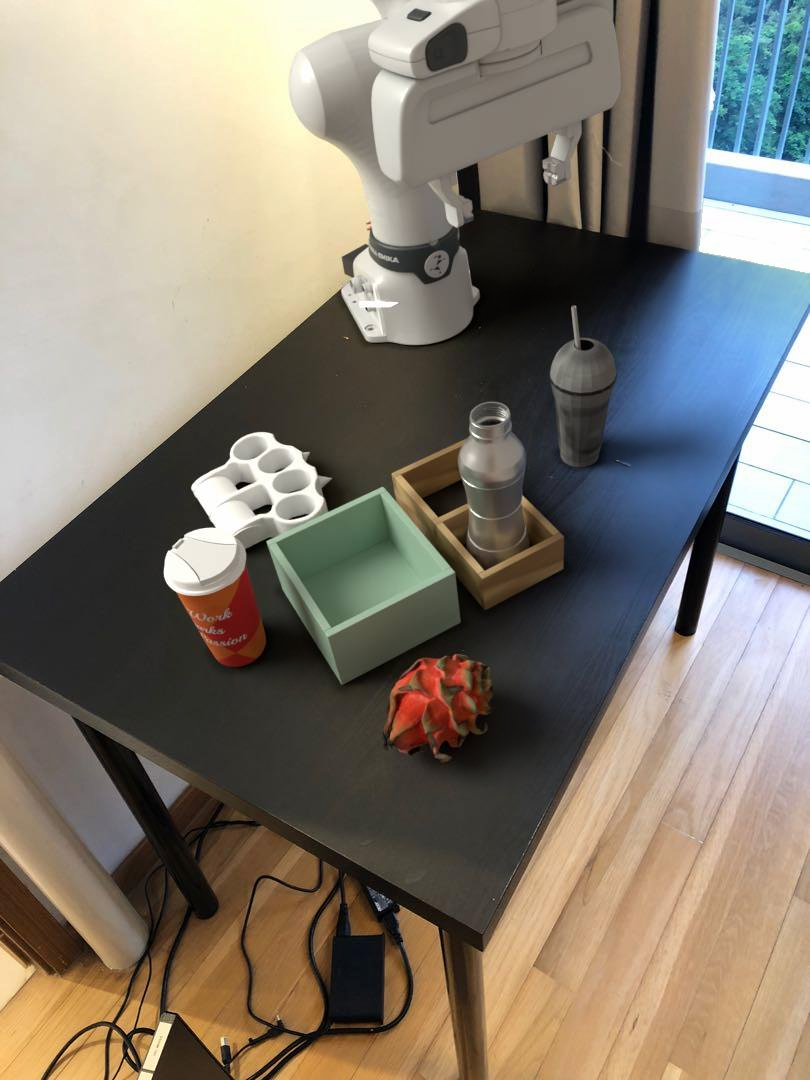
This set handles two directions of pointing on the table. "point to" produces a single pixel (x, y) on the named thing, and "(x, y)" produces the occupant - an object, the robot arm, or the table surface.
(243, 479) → the knuckle duster
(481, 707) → the dragon fruit
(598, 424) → the beverage cup
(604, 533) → the table surface
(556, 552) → the rack
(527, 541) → the silver metal bottle
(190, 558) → the paper cup
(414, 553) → the open storage box
